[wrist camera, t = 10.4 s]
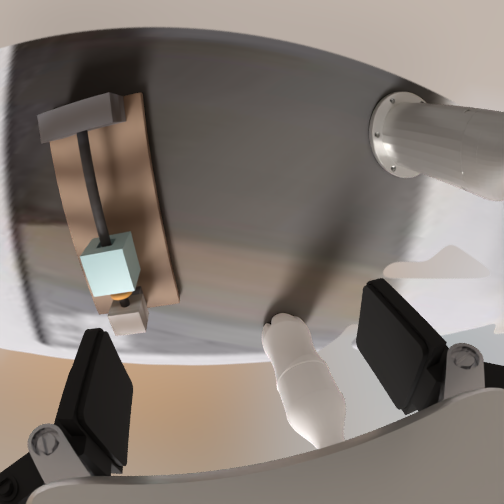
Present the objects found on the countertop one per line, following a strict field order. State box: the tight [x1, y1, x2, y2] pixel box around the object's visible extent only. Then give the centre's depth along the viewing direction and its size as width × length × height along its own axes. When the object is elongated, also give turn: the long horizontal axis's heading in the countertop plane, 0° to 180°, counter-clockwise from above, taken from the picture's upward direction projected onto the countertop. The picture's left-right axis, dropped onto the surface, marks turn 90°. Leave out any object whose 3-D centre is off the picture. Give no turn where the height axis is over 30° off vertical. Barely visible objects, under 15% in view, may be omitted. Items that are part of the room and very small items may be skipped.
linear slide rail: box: [37, 92, 180, 336], centre depth 32 cm, size 27×12×8 cm, turn 5°
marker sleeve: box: [80, 231, 141, 297], centre depth 32 cm, size 5×5×5 cm
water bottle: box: [262, 313, 346, 449], centre depth 36 cm, size 7×7×25 cm
